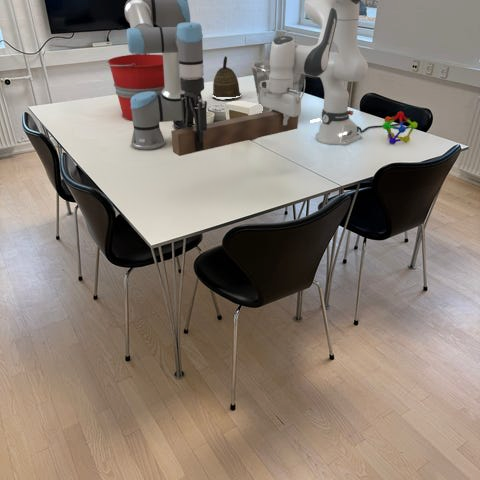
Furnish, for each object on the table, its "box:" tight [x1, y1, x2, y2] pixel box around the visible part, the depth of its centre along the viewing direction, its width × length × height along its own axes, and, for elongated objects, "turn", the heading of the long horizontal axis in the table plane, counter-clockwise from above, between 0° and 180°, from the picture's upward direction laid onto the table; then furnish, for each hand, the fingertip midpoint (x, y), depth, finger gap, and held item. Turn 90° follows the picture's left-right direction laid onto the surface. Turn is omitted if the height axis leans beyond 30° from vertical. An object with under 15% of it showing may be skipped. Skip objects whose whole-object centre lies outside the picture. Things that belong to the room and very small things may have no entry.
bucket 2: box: [251, 59, 307, 113], centre depth 236 cm, size 30×30×28 cm
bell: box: [212, 56, 242, 97], centre depth 278 cm, size 19×26×20 cm
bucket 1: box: [104, 53, 165, 121], centre depth 240 cm, size 35×35×30 cm
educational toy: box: [382, 110, 418, 145], centre depth 207 cm, size 16×13×15 cm
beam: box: [170, 110, 299, 157], centre depth 160 cm, size 52×5×7 cm, turn 125°
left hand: (195, 147), depth 152 cm, fingers closed on beam, 5 cm apart
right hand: (279, 122), depth 169 cm, fingers closed on beam, 4 cm apart
